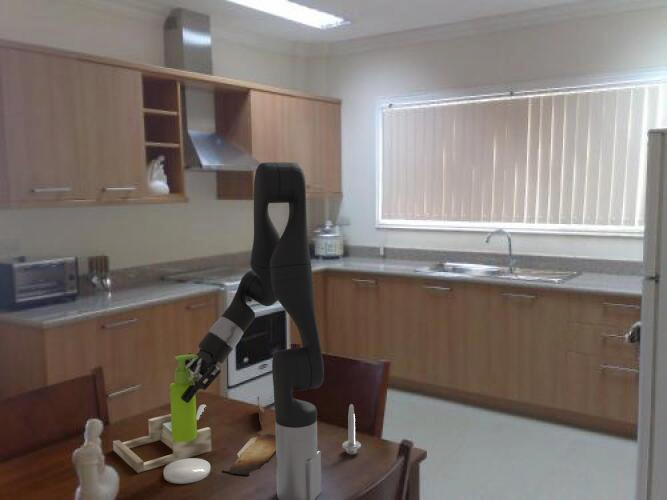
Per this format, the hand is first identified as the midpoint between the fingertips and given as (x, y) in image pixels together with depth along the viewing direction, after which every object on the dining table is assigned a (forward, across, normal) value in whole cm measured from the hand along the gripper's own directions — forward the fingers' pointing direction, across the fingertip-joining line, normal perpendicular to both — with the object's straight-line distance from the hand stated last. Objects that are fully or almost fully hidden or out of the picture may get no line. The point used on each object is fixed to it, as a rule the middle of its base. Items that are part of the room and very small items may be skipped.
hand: (178, 396), depth 146 cm
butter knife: (+1, -30, +28) cm, 41 cm away
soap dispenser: (+6, 0, +9) cm, 11 cm away
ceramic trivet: (+13, 0, +15) cm, 19 cm away
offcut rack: (+13, -16, +15) cm, 25 cm away
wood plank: (-10, -17, +38) cm, 43 cm away
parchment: (0, +2, +28) cm, 28 cm away
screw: (-14, +17, +42) cm, 47 cm away
